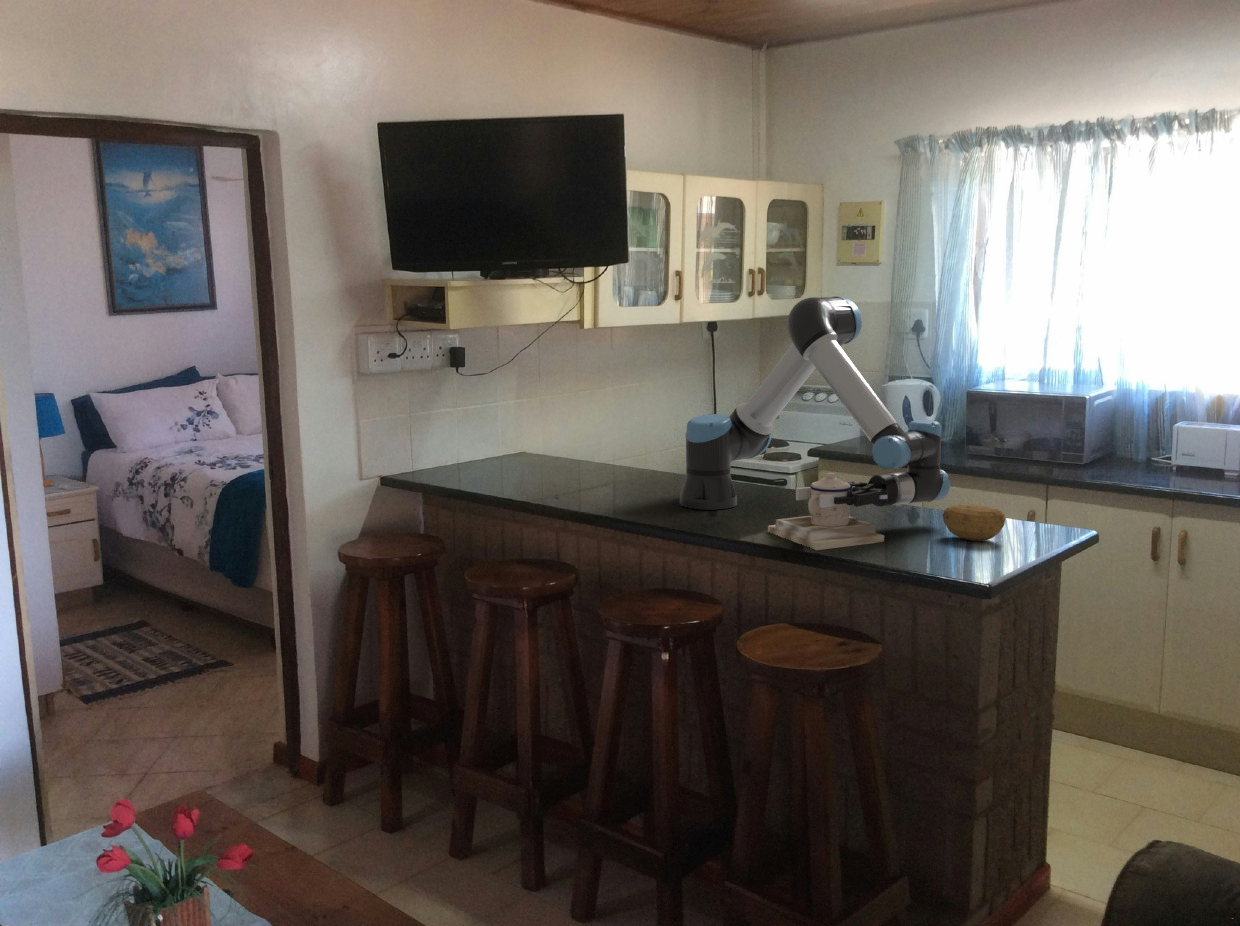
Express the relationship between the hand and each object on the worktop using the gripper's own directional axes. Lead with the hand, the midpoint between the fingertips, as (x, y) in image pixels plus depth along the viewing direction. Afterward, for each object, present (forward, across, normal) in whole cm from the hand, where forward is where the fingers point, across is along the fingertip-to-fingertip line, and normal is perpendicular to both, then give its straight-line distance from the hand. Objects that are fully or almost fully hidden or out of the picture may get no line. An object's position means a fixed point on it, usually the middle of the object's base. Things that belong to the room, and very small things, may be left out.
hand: (808, 497), depth 245 cm
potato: (-33, -17, -10) cm, 38 cm away
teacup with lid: (-4, 0, -7) cm, 8 cm away
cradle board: (-5, 0, -10) cm, 11 cm away
